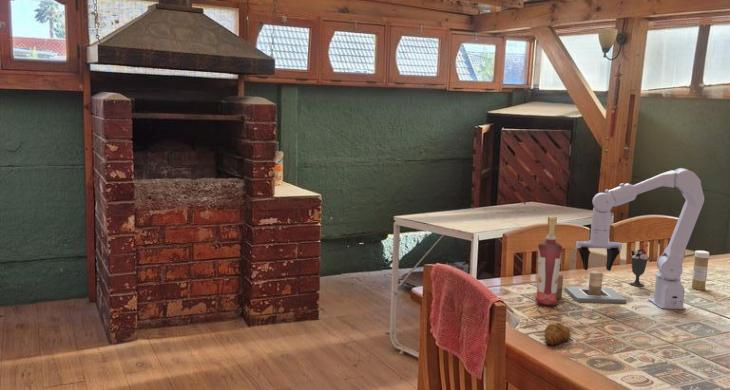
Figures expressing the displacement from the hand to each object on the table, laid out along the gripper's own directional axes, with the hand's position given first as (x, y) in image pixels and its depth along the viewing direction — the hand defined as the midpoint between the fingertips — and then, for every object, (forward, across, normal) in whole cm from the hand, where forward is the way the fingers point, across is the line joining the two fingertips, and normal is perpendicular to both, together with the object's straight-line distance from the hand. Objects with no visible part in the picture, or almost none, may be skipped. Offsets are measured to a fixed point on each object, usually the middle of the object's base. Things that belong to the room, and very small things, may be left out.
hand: (596, 269), depth 212 cm
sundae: (+10, -21, -16) cm, 28 cm away
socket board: (+9, 0, 0) cm, 9 cm away
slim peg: (+9, 0, 0) cm, 9 cm away
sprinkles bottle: (+10, -42, -14) cm, 45 cm away
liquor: (+9, +19, +10) cm, 23 cm away
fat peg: (+9, +15, 0) cm, 17 cm away
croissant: (+10, +25, +41) cm, 49 cm away
